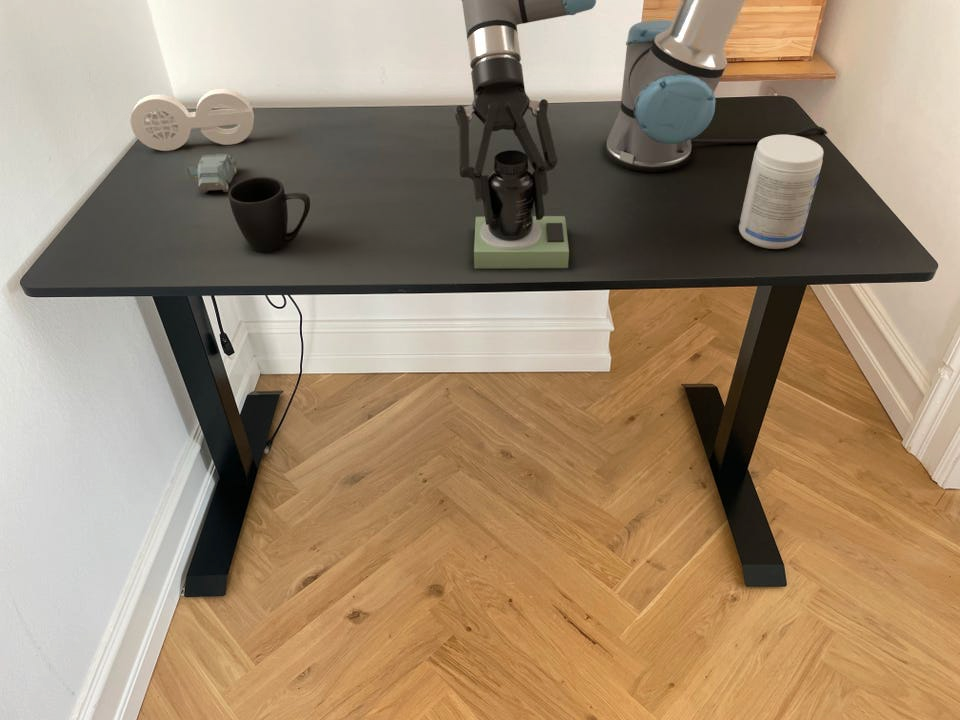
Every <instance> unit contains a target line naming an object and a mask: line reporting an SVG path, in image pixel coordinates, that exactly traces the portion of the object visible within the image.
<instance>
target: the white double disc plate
mask: <svg viewBox="0 0 960 720" xmlns="http://www.w3.org/2000/svg"><path fill="white" fill-rule="evenodd" d="M250 104H251V103H250V102H249V100H248V99H247V98H246V97H245V96H243V94H240V93H239V92H238V91H236V90H233V89H229V88H215V89H212V90H209V91H208V92H205V93H204V94H203V95H202V96H201V98H200V99H199V100H198V103H197V105H196V109H195V111H189V110H188V109H187V108H186V107H185V105H183V104H182V103H181V102H180V101H179V100H178V99H175V98H173V97H171V96H169V95H165V94H149V95H146V96H144V97H143V98H141V99H139V100H138V101H137V103H136V104H135V105H134V107H133V109H132V112H131V114H130V126H131V130H132V132H133V134H134V136H135V137H136V138H137V139H138V140H139V141H140V142H141V144H143V145H145V146H147V147H148V148H150V149H153V150H156V151H162V152H169V151H174V150H177V149H179V148H181V147H182V146H184V145H185V144H186V143H187V141H188V140H189V138H190V136H191V133H192V129H200V133H201V134H202V135H203V136H204V137H206V138H207V139H208V140H209V141H211V142H213V143H216V144H219V145H224V146H225V145H227V146H228V145H229V146H230V145H236V144H239V143H242V142H243V141H245V140H246V139H247V138H248V137H249V136H250V134H251V133H252V131H253V129H254V124H255V123H254V121H255V114H254V109H253V107H252V106H251V105H250ZM218 106H229V107H231V108H220V109H213V108H215V107H218ZM146 120H147V121H146ZM232 125H236V126H235V127H232V128H222V127H221V126H232Z"/></svg>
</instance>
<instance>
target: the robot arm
mask: <svg viewBox="0 0 960 720" xmlns="http://www.w3.org/2000/svg"><path fill="white" fill-rule="evenodd" d="M461 3H462V11H463V17H464V25H465V33H466V40H467V47H468V57H469V65H470V68H471V72H470V75H471V82H472V92H473V101H472V102H471V104H470V105H466V106H462V105H458V106H456V108H455V109H456V110H455V115H454V116H455V120H456V122H457V126H458V130H459V132H458V133H459V136H458V137H459V175H460V177H461V178H469V179H470V180H472V183H473V190H474V198H475V200H476V202H482V203H483V205H482V206H483V213H484V217H485V221H486V225H489V224H491V223H492V221H493V215H492V207H491V199H490V190H489V182H488V178H489V176H488V174H487V175H483V171H484V167H485V162H486V159H487V154H488V149H489V147H490V142H491V138H492V133H493V132H498V131H501V130H506V131H512V132H513V134H514V136H516V137H517V139H518V141H519V143H520V145H521V148H522V149H523V151H524V154H526V155H527V157H528V162H529V163H530V165H531V168H532V169H533V172H532V173H531V174H532V176H533V178H534V212H535V216H536V220H541V219H542V218H543V216H546V215H545V208H544V199H543V197H544V196H546V195H547V194H548V191H549V186H548V184H549V183H548V177H547V172H549V171H553V170H554V169H555V168H556V166H557V163H558V156H557V152H556V148H555V143H554V139H553V135H552V131H551V127H550V123H549V118H548V106H549V101H548V100H547V99H545V98H544V99H543V98H542V99H541V100H540V101H539V100H532V99H530V97H529V96H528V94H527V93H526V88H525V81H524V72H523V71H524V70H523V65H522V63H521V61H522V56H521V49H520V41H519V33H518V25H523V24H528V23H533V22H538V21H539V22H540V21H545V20H550V19H555V18H560V17H566V16H575V15H576V14H579V13H583V12H587V11H590V10H592V9H593V8H595V6H596V4H597V0H461ZM745 3H746V0H680V2H679V4H678V7H677V9H676V12H675V13H674V17H673V19H672V20H668V19H667V20H665V19H663V20H657V19H656V20H646V21H641V22H637V23H635V24H633V25H632V26H631V27H630V28H629V30H628V34H627V39H626V41H625V45H626V50H625V51H626V52H625V60H624V71H623V80H622V88H621V89H622V90H621V98H620V99H621V100H620V108H619V112H618V114H617V117H616V119H615V121H614V123H613V126H612V127H611V130H610V133H609V134H608V137H607V140H606V148H605V154H606V155H607V157H608V159H609V160H610V161H612V162H613V163H615V164H616V165H618V166H620V167H623V168H625V169H628V170H632V171H637V172H644V173H662V172H669V171H673V170H676V169H679V168H682V167H683V166H684V165H686V164H687V163H688V162H689V160H690V159H691V152H692V147H693V146H692V144H718V145H719V144H721V145H723V144H724V145H727V144H729V145H731V144H733V145H734V144H736V145H737V144H738V145H739V144H758V142H759V141H760V140H761V139H763V138H764V137H762V138H749V139H748V138H747V139H746V138H745V139H740V138H739V139H734V138H733V139H731V138H730V139H729V138H728V139H723V138H722V139H721V138H719V139H717V138H696V137H698V136H699V135H701V134H702V133H704V131H705V130H706V129H707V128H708V126H709V125H710V124H711V122H712V120H713V118H714V115H715V111H716V103H717V102H716V101H717V100H716V96H715V91H716V89H717V87H718V85H719V83H720V80H721V79H722V76H723V75H724V71H725V70H726V68H727V66H728V61H727V57H726V54H725V51H724V48H725V46H726V44H727V42H728V39H729V37H730V36H731V34H732V30H733V28H734V26H735V25H736V22H737V19H738V18H739V15H740V13H741V12H742V9H743V7H744V4H745ZM528 110H529V111H530V112H531V115H532V116H533V117H534V118H535V123H536V129H537V133H538V136H539V141H540V146H541V148H542V149H541V150H542V153H543V157H542V154H541V153H540V150H539V148H538V147H537V144H536V143H535V141H534V139H533V136H532V135H531V132H530V130H529V129H528V126H527V123H526V120H525V119H524V116H525V114H526V112H527V111H528ZM473 114H474V115H475V117H477V119H479V120H480V122H482V124H483V125H484V127H483V131H482V134H481V139H480V143H479V148H478V152H477V156H476V160H475V164H474V167H473V166H470V122H471V121H472V118H473V117H472V115H473ZM813 131H817V132H820V133H821V134H822V135H827V134H828V132H827V130H826V129H825V128H823V126H819V125H818V126H817V125H816V126H814V125H813V126H810V127H809V126H808V127H805V128H803V129H799V130H796V131H790V132H785V133H781V134H780V135H795V136H799V135H803V134H806V133H809V132H813Z"/></svg>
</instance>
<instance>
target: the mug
mask: <svg viewBox="0 0 960 720" xmlns="http://www.w3.org/2000/svg"><path fill="white" fill-rule="evenodd" d="M227 196H228V200H229V205H230V209H231V212H232V215H233V217H234V220H235V223H236V224H237V227H238V228H239V231H240V232H241V234H242V236H243V237H244V239H245V240H246V242H247V243H248V245H249V247H250V249H251V250H252V251H254V252H256V253H261V254H268V253H269V254H270V253H273V252H276V251H279V250H280V249H282V248H283V247H284V246H285V245H286V243H290V242H292V241H294V240H295V239H296V237H297V236H298V235H299V233H300V230H301V228H302V227H303V225H304V223H305V221H306V219H307V217H308V214H309V213H310V209H311V199H310V196H309V194H307V193H305V192H289V193H286V191H285V187H284V184H283V183H282V181H280V180H279V179H277V178H273V177H269V176H256V177H250V178H246V179H243V180H240V181H239V182H236V183H234V184H233V185H232V186H231V187H230V188H229V190H228V192H227ZM294 199H295V200H297V199H298V200H301V201H302V202H303V203H304V208H303V213H302V216H301V218H300V220H299V221H298V224H297V225H296V227H295V228H294V229H293V230H292V231H290V232H288V223H289V213H288V212H289V211H288V202H287V201H288V200H294Z"/></svg>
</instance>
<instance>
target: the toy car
mask: <svg viewBox="0 0 960 720" xmlns="http://www.w3.org/2000/svg"><path fill="white" fill-rule="evenodd" d="M237 163H238V160H237V158H236V157H235V156H232V155H228V154H226V153H216V154H207V155H205V154H203V155H202V156H201V158H200V159H199V162H198V164H197V166H186V169H187V172H188V175H189V180H198V190H199V191H202V193H204V194H207V193H208V192H209V191H223V193H228V192H229V190H230V188H229V184H231V182H232V180H233V178H234V176H235V175H237V171H238V170H237V166H236V165H237Z"/></svg>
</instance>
